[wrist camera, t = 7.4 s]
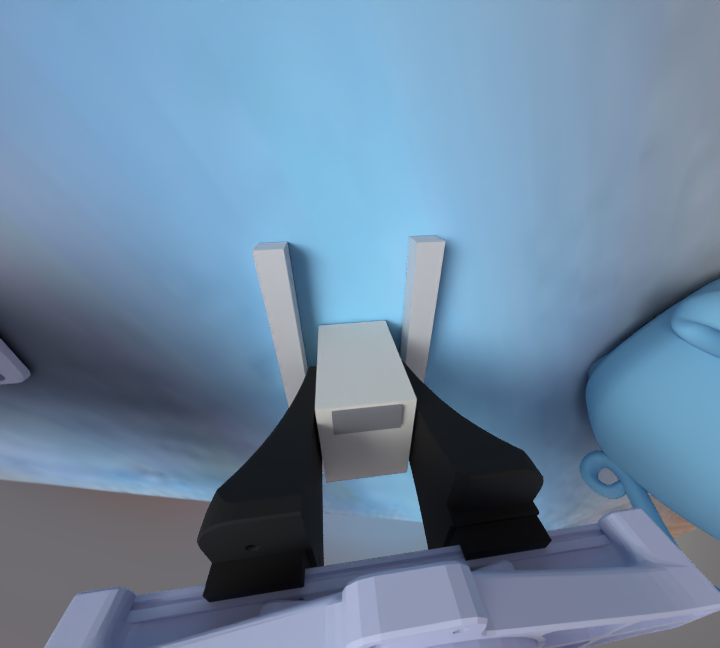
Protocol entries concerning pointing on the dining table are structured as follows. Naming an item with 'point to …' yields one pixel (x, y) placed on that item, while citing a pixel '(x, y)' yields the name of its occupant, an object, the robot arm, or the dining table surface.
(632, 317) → the dining table surface
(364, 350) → the plug block
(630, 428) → the decorative pot
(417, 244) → the socket
